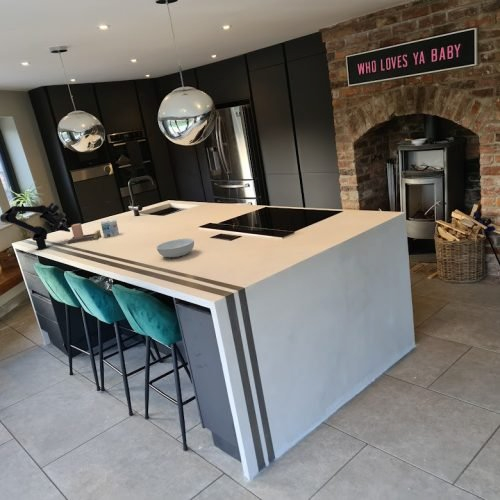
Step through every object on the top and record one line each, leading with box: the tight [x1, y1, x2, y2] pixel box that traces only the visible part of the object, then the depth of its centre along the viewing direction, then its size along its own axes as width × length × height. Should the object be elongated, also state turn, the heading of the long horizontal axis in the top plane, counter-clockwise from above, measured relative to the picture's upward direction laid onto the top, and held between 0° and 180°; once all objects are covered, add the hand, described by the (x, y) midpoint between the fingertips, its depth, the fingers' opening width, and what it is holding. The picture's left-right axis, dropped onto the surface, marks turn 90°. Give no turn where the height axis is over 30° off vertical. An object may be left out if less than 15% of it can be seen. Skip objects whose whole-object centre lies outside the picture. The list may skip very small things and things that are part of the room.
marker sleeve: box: [70, 222, 85, 239], centre depth 338 cm, size 6×5×10 cm
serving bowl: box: [156, 238, 195, 259], centre depth 264 cm, size 21×21×7 cm
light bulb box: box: [100, 219, 120, 239], centre depth 339 cm, size 11×7×11 cm, turn 105°
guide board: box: [66, 229, 102, 245], centre depth 340 cm, size 11×21×4 cm, turn 93°
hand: (70, 231), depth 338 cm, fingers closed
